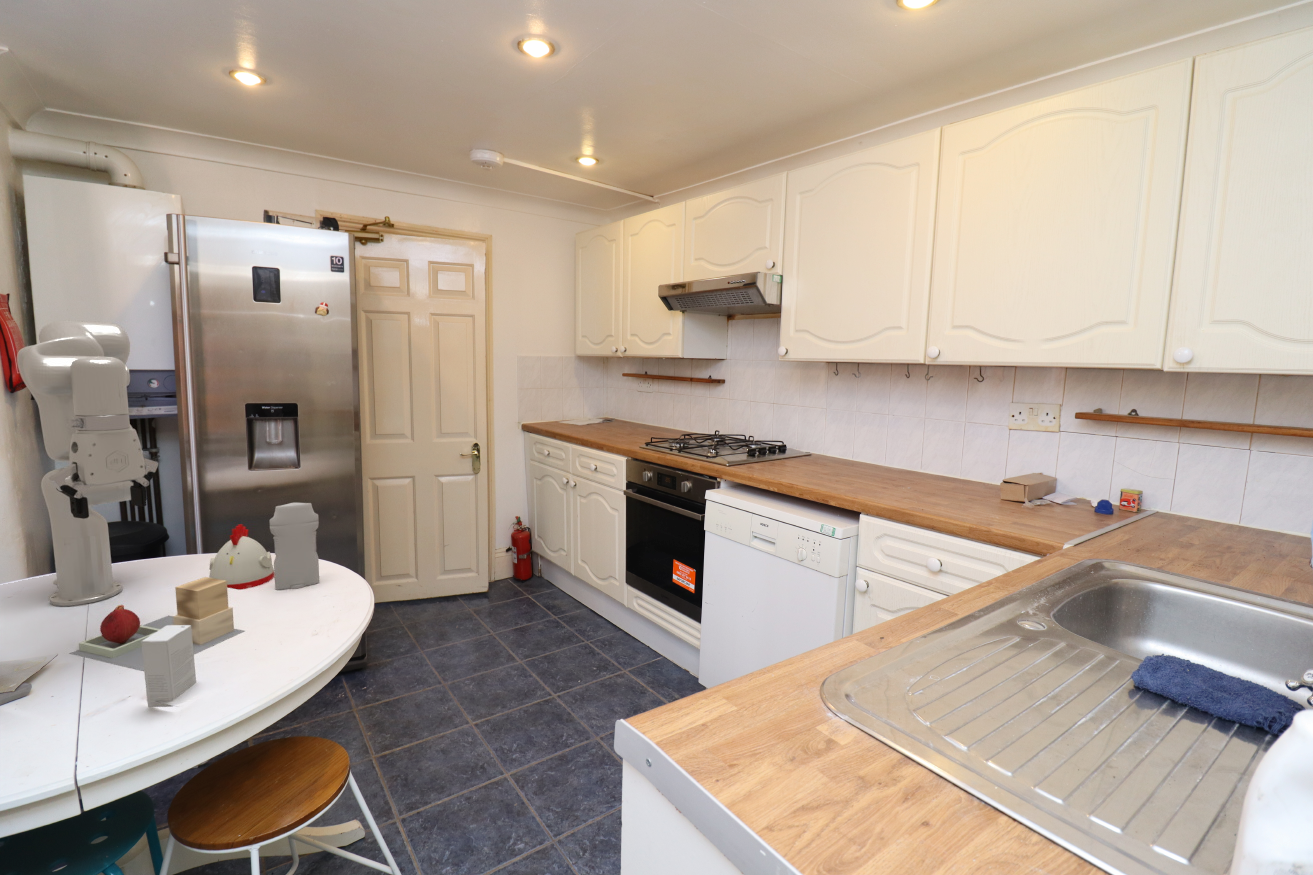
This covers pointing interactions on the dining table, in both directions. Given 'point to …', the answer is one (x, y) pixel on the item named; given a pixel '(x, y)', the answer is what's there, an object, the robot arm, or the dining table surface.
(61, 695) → the dining table surface
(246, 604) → the dining table surface
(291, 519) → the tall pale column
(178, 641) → the skincare box
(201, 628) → the brown rectangular block
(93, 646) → the socket
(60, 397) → the robot arm
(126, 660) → the board
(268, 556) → the kitchen timer
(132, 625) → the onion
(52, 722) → the dining table surface
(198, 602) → the cube
